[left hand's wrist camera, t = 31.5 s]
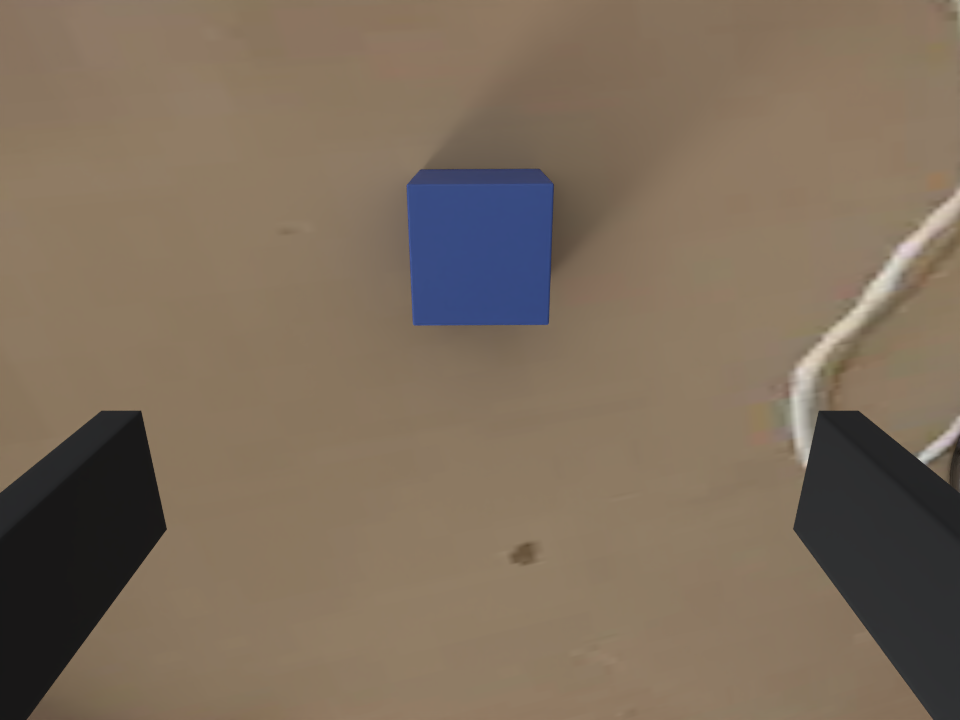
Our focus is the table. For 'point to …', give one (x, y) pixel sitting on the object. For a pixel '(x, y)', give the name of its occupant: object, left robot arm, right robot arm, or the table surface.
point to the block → (480, 246)
